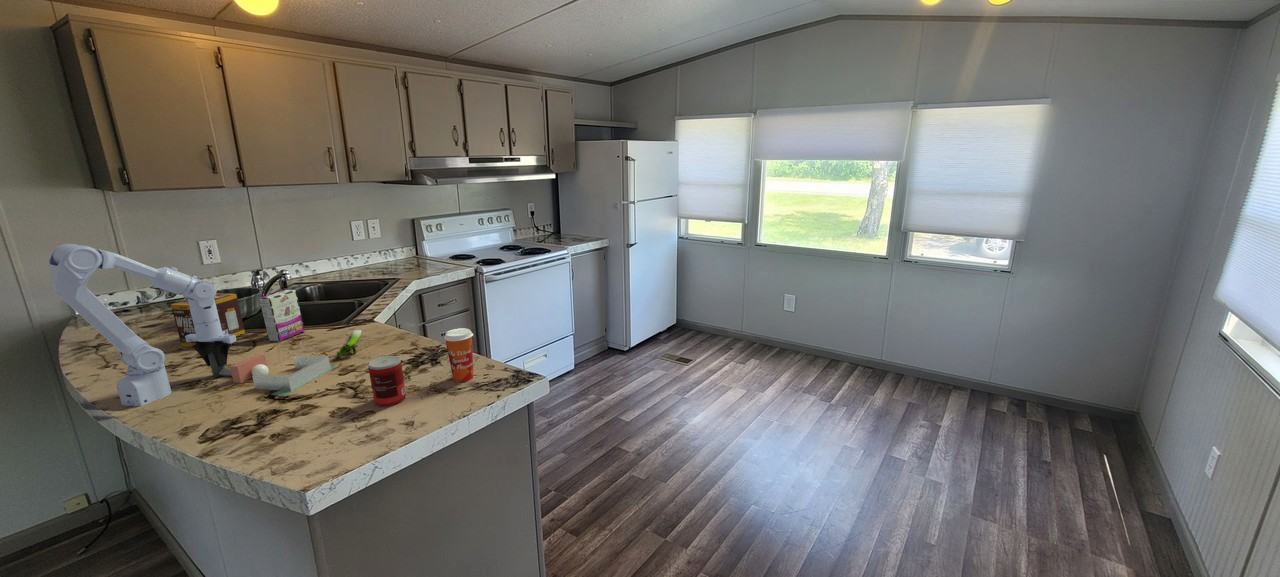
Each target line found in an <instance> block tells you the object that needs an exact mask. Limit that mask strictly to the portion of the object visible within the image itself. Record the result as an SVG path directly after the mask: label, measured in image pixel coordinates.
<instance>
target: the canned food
mask: <svg viewBox="0 0 1280 577" xmlns="http://www.w3.org/2000/svg"><path fill="white" fill-rule="evenodd" d="M367 366H368V374H369V379H370V385H371V390H372V391H371V392H372V396H373V402H374V403H375V405H376V406H379V407H390V406H391V405H392V406H394V405H398V404H400V403H402V402H403V401H404V400H405V399H406V395H407V393H406V386H405V379H404V378H405V377H404V373H403V365H402V360H401V357H400V356H398V355H397V356H396V355H385V356H380V357H376V358H374V359H372V360H370V361H369V362H368V363H367ZM397 403H398V404H397Z"/></svg>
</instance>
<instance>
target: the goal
mask: <svg viewBox="0 0 1280 577" xmlns="http://www.w3.org/2000/svg"><path fill="white" fill-rule="evenodd" d="M292 359H293V364H294V368H295V369H298V370H297V371H294V372H293V373H291V374H289V375H271V374H270V375H269V374H267V375H254V376H252V377H253V378H252V381H253V385H254V390H270V391H273V390H275V391H293V390H294V389H296V388H298V387H300V386H301V385H303V384H305V383H307V382H309V381H310V380H312V379H314V378H316V377H318V376H319V375H321V374H323V373H325V372H327V371H328V370H330V369H331V367H330V366H331V363H330V358H329V356H318V355H316V356H315V355H294V356H292ZM330 371H331V370H330ZM328 372H329V371H328ZM328 372H327V373H328ZM325 374H326V373H325ZM323 375H324V374H323ZM321 376H322V375H321ZM318 378H319V377H318ZM316 379H317V378H316ZM314 380H315V379H314ZM312 381H313V380H312ZM309 383H310V382H309ZM307 384H308V383H307ZM305 385H306V384H305ZM300 388H301V387H300ZM298 389H299V388H298ZM296 390H297V389H296ZM293 392H294V391H293Z"/></svg>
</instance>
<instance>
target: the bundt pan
mask: <svg viewBox="0 0 1280 577" xmlns="http://www.w3.org/2000/svg"><path fill="white" fill-rule="evenodd" d="M263 292H264V289H261V287H252V286H251V287H250V286H248V287H244V286H242V287H233V288H222V289H217V292H216V293H222V294H236V295H237V300H238V304H239V309H240V313H241V318H242V319H248V318H251V316H254V315H256V314H257V313H258V312H259V311H260V310H262V309H261V305H260V301H259V298H261V297H263ZM188 299H189V298H185V297H184V298H183V300H180V302H182V301H186V300H188Z"/></svg>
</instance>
